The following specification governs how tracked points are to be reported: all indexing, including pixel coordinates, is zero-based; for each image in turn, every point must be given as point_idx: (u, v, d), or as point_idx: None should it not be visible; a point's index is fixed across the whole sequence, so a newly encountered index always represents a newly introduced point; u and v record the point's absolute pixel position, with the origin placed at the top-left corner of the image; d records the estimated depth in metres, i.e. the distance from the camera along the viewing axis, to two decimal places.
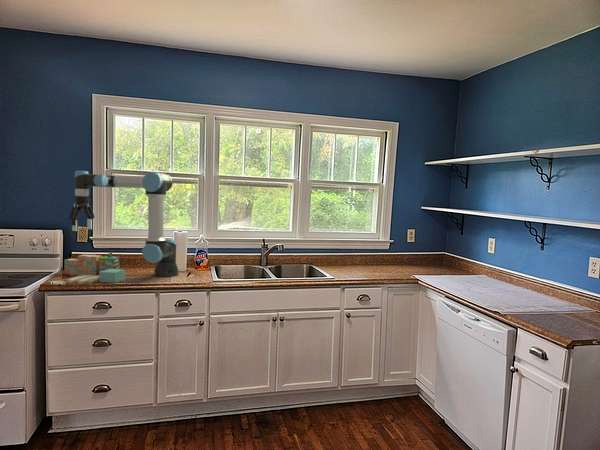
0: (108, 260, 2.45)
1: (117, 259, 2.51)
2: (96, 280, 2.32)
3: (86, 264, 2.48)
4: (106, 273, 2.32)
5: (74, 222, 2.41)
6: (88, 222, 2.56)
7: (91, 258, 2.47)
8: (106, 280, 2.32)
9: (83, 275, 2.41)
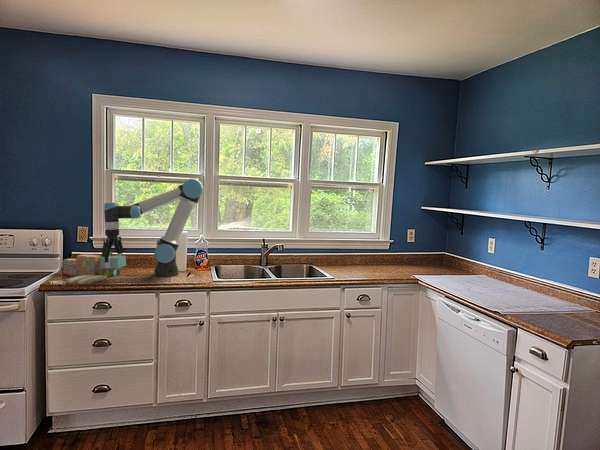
0: None
1: None
2: (96, 280, 2.32)
3: (85, 264, 2.48)
4: None
5: (107, 259, 2.30)
6: None
7: (90, 258, 2.47)
8: None
9: (83, 275, 2.41)
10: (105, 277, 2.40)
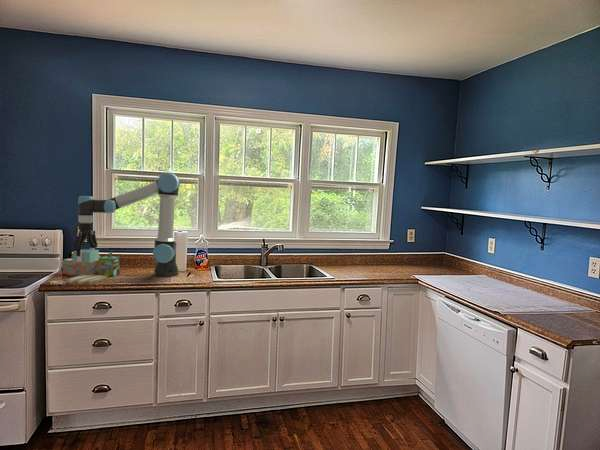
0: (108, 260, 2.45)
1: (117, 259, 2.51)
2: (96, 280, 2.32)
3: (84, 264, 2.48)
4: None
5: (79, 253, 2.27)
6: None
7: None
8: None
9: (83, 275, 2.41)
10: (105, 277, 2.40)
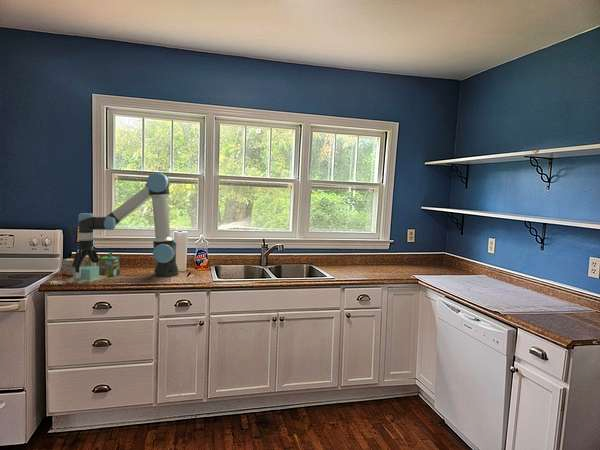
0: (108, 260, 2.45)
1: (117, 259, 2.51)
2: (96, 280, 2.32)
3: (84, 264, 2.48)
4: None
5: (78, 269, 2.27)
6: None
7: (89, 258, 2.47)
8: None
9: None
10: (105, 277, 2.40)
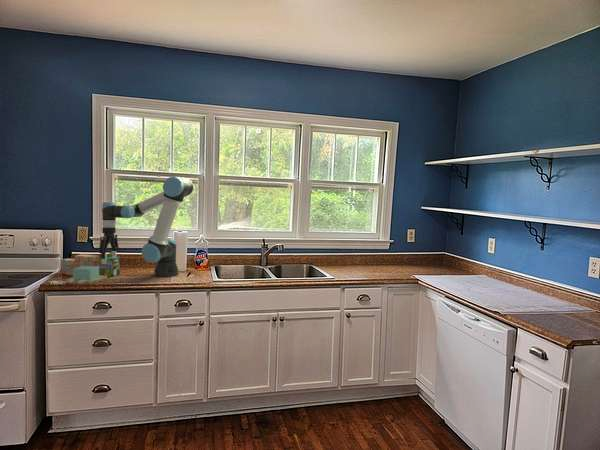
0: (108, 260, 2.45)
1: (117, 259, 2.51)
2: (96, 280, 2.32)
3: (83, 264, 2.48)
4: (80, 270, 2.30)
5: (104, 255, 2.43)
6: (112, 254, 2.54)
7: (88, 258, 2.47)
8: (80, 277, 2.30)
9: None
10: (105, 277, 2.40)
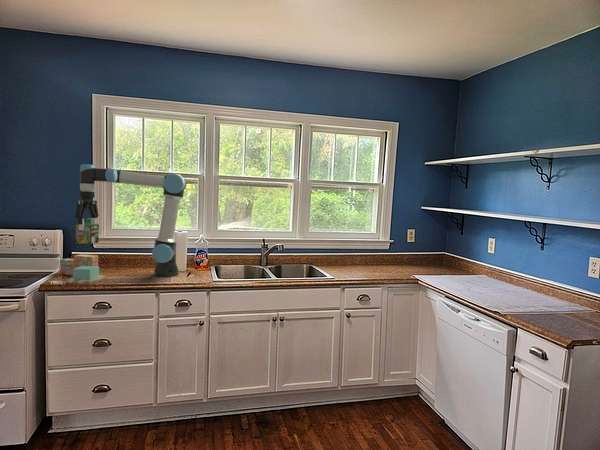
0: (86, 226, 2.30)
1: (96, 226, 2.36)
2: (96, 280, 2.32)
3: (82, 264, 2.48)
4: (80, 270, 2.30)
5: (81, 221, 2.28)
6: (92, 221, 2.39)
7: (87, 258, 2.47)
8: (80, 277, 2.30)
9: None
10: (105, 277, 2.40)
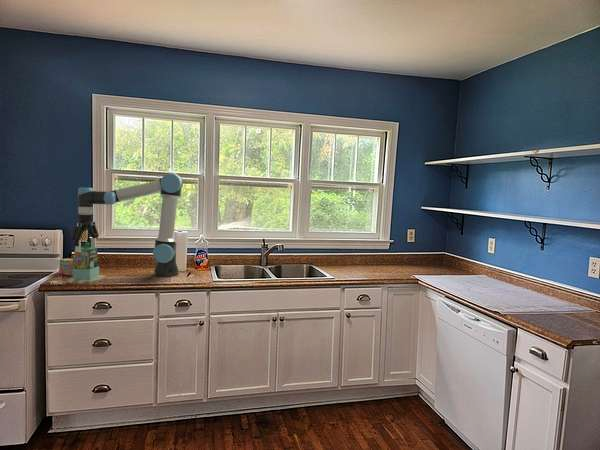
0: (84, 251, 2.29)
1: (95, 250, 2.35)
2: (96, 280, 2.32)
3: None
4: (80, 270, 2.30)
5: (77, 243, 2.26)
6: (92, 241, 2.40)
7: None
8: (80, 277, 2.30)
9: None
10: (105, 277, 2.40)
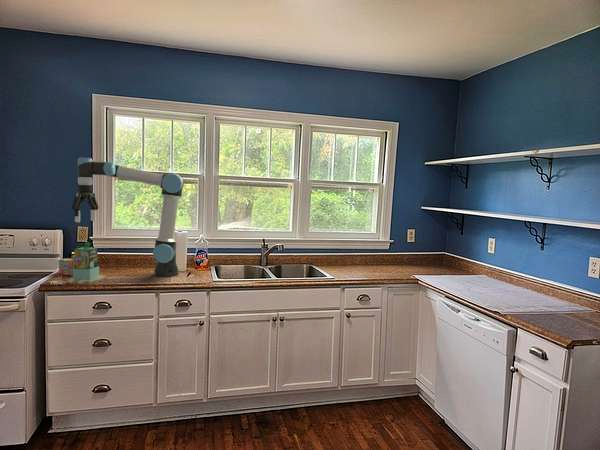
0: (84, 251, 2.29)
1: (95, 250, 2.35)
2: (96, 280, 2.32)
3: None
4: (80, 270, 2.30)
5: (77, 213, 2.25)
6: (92, 213, 2.39)
7: None
8: (80, 277, 2.30)
9: None
10: (105, 277, 2.40)
